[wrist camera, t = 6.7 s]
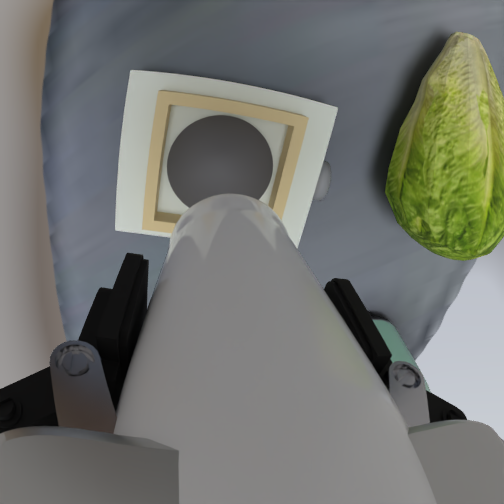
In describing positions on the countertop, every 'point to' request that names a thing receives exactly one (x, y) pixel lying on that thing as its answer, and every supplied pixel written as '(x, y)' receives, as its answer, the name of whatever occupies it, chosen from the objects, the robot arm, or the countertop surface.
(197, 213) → the drinking glass
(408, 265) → the countertop surface
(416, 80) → the countertop surface
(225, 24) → the countertop surface
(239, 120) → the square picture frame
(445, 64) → the lettuce
